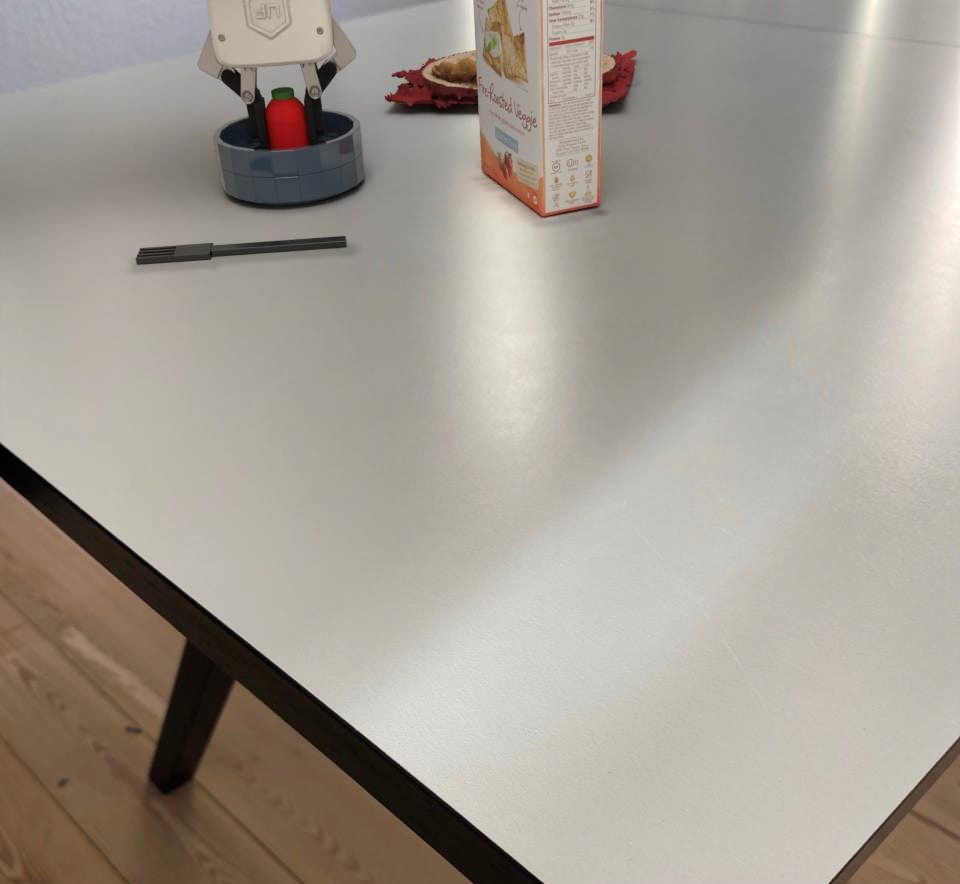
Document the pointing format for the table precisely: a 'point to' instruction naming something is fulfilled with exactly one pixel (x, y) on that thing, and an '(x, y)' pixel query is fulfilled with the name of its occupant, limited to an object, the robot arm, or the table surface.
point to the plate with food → (459, 80)
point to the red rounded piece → (286, 120)
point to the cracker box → (541, 99)
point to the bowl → (290, 163)
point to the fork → (231, 249)
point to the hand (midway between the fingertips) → (290, 142)
